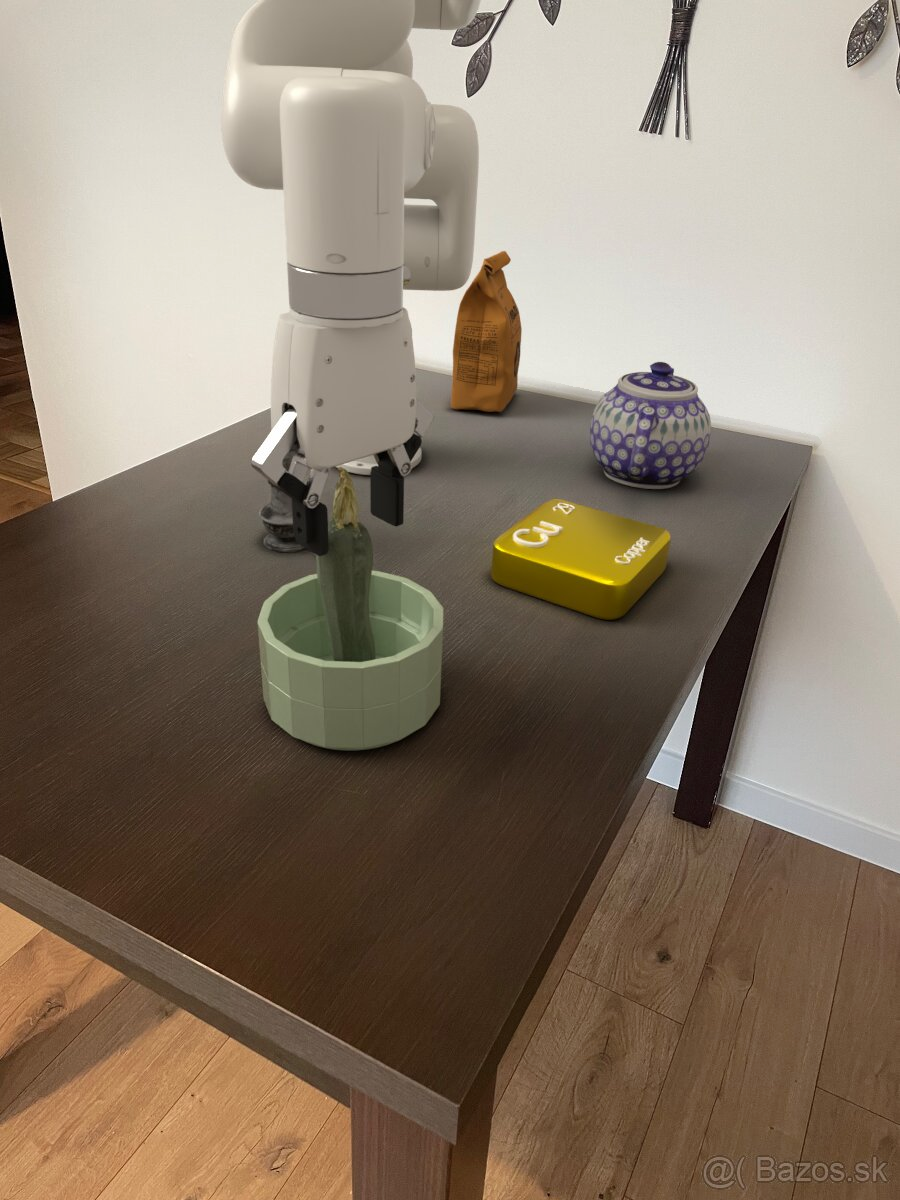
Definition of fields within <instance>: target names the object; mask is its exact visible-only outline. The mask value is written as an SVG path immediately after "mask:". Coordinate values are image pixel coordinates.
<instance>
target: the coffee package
mask: <svg viewBox="0 0 900 1200" xmlns="http://www.w3.org/2000/svg"><path fill="white" fill-rule="evenodd" d="M511 260H512V259H511V257H510V256H509V254H508V253H507V251H506V250H502V251H500V252H498V253H495V254H493V255H491V256H489V257H486V258H483V262H482V265H481V267H480V270H479V271H478V273H477V275H476V276H475V277H474V278H473V280H472V282H471V283H470V285H469V286H468V287H467V289H466V290H465V292H464V294H463V296H462V298H461V300H460V302H459V306H458V310H457V316H456V323H455V328H454V329H455V330H454V337H453V345H452V383H451V384H452V385H451V397H450V408H451V409H453V410H457V411H458V410H471V411H474V410H477V411H481V412H485V413H488V412H489V413H493V412H499V413H500V412H503V411H504V410H505V408H506V407H507V405H508V404H509V403H510V402H511V400H513V397H514V395H515V393H516V391H517V389H518V375H519V367H520V360H521V346H522V344H521V343H522V323H521V316H520V311H519V308H518V305H517V303H516V300H515V298H514V296H513V294H512V293H511V291H510V289H509V288H508V285H507V279H506V275H505V273H504V270H503V268H505V267H506V266H508V265H509V264H510V263H511Z"/></svg>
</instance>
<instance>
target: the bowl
mask: <svg viewBox="0 0 900 1200" xmlns="http://www.w3.org/2000/svg"><path fill="white" fill-rule="evenodd" d="M369 618H370V625H371V630H372V634H373V638H374V643H375V658H376V659H374V660H369V661H364V662H345V661H334V659H333V656H332V653H331V648H330V643H329V636H328V629H327V624H326V618H325V613H324V607H323V602H322V597H321V594H320V590H319V585H318V578H317V573H313V574H308V575H306V576H304V577H301V578H298V579H296V580H294V581H291V582H288V583H286V584H284V585H282V586H281V587H279V588H278V589H277V590H276V591H275V592H274V593H273V594H271V595H270V596H269V597H268V598H266V599H265V600H264V601H263V604H262V607H261V609H260V613H259V616H258V619H257V623H256V624H257V636H258V647H259V659H260V672H261V683H262V696H263V701H264V704H265V707H266V709H267V712H268V715H269V717H270V720H271V721H273V722H274V723H275V724H276V725H278V727H280V728H281V729H283V731H284V732H286V733H288V735H290V736H291V737H293V738H294V739H297V740H301V741H302V742H305V743H307V744H310V745H312V746H316V747H319V748H323V749H328V750H334V751H348V752H349V751H365V750H373V749H377V748H381V747H385V746H388V745H391V744H394V743H396V742H399V741H401V740H403V739H404V738H406V737H408V736H410V735H411V734H413V733H414V732H416V731H418V730H419V729H421V728H423V727H425V726H426V725H427V723H428V722H429V720H430V719H431V718H432V717H433V715H434V714H435V712H436V711H437V709H438V708H439V706H440V705H441V685H442V664H443V663H442V662H443V661H442V660H443V638H444V607H443V606H442V605H441V603H440V602H439V600H438V599H437V598H436V597H435V595H434V594H433V592H432V591H431V590H429V589H427V588H425V587H424V586H422V585H420V584H418V583H417V582H415V581H413V580H411V579H409V578H407V577H404V576H400V575H396V574H391V573H387V572H383V571H380V570H372V573H371V583H370V592H369Z"/></svg>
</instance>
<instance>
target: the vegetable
mask: <svg viewBox="0 0 900 1200" xmlns="http://www.w3.org/2000/svg"><path fill="white" fill-rule="evenodd" d="M337 470H338V471H339V475H338V476H339V479H338V482H337V483H336V485H335V492H334V497H333V501H332V515H333V516H332V518H330V519H328V544H329V550H328V552H327V554H325V555H323V556H318V555H316V554H315V564H316V574H317V578H318V585H319V590H320V594H321V597H322V602H323V607H324V613H325V618H326V624H327V629H328V636H329V643H330V648H331V653H332V656H333V659H334V661H345V662H364V661H369V660H374V659H376V658H375V643H374V638H373V634H372V630H371V625H370V618H369V592H370V583H371V573H372V571H373V565H374V564H373V563H374V549H373V543H372V538H371V535H370V532H369V531H368V529H367V527H366V526H365V525H364V524H363V523H362V522H360V521H359V520H357V518H358V517H359V514H360V507H359V506H360V505H359V502H358V499H357V497H356V492H355V488H354V483H353V480H352V477H351V475H350V474H349V472H347V470H346V469H343V468H342V467H339V468H337Z"/></svg>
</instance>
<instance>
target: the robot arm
mask: <svg viewBox="0 0 900 1200" xmlns="http://www.w3.org/2000/svg"><path fill="white" fill-rule="evenodd" d="M481 1H482V0H257V2H255V3H254V4H252V6H251V7H250V8H249V9H248V10H247V11H246V12H245V13H244V15H243V16H242V17H241V18H240V21H238V24H237V26H236V28H235V29H234V32H233V35H232V39H231V42H230V47H229V52H228V57H227V62H226V63H227V64H226V70H225V74H224V81H223V88H222V95H221V107H220V108H221V110H220V132H221V141H222V145H223V148H224V154H225V156H226V158H227V159H226V160H227V161H228V163H229V165H230V167H231V169H232V170H233V172H234V174H235V175H236V176H237V177H238V178H240V179H241V180H242V181H243V182H244V183H246V184H247V185H249V186H252V187H255V188H259V189H262V190H263V189H264V190H274V191H275V190H276V191H277V190H278V191H283V207H284V210H283V211H284V227H285V228H284V229H285V246H286V247H285V248H286V249H285V251H286V261H287V262H286V268H287V269H286V271H287V289H288V307H289V309H288V310H289V312H285V313H281V314H279V316H278V321H277V324H276V331H275V337H274V343H273V351H272V361H271V378H270V430H271V431H270V433H269V434H268V435H267V436H266V438H265V440H264V441H263V442H262V444H261V445H260V447H259V448H258V449H257V451H255V454H254V455H253V456H252V459H251V461H250V466H251V467H252V468H253V469H254V470H255V471H257V472H258V473H259V474H260V475H261V476H262V477H264V478H265V479H266V480H267V479H268V480H269V481H270V483H271V484H273V485H274V486H275V487H277V488H278V489H279V490H281V491H282V492H283V493H284V494H285V495H286V496H288V497H290V498H291V499H292V515H293V533H294V537H295V539H296V542H297V543H298V544H299V545H301V546H303V547H304V548H305V549H306V550H307V551H310V552H311V553H312V554H314V555H315V556H316V555H318V556H323V555H325V554H327V552H328V550H329V544H328V521H329V517H328V507H327V505H326V504H325V503H323V502H321V499H322V496H323V494H324V490H325V486H326V484H327V481H328V477H329V474H330V472H331V468H337V469H338V468H339V467H342V468H343V469H346V470H347V472H348V473H351V474H356V475H362V476H370V478H369V480H370V483H369V484H370V486H369V487H370V490H369V491H370V492H369V493H370V498H369V499H370V514H371V515H372V516H374V517H376V518H377V519H379V520H381V521H383V522H385V523H387V524H389V525H391V526H393V527H400V526H402V525H403V524H404V517H405V516H404V513H405V511H404V510H405V509H404V507H405V506H404V505H405V477H407V476H408V475H409V474H410V473H411V471H412V470H413V469H414V468H415V467H417V466H418V465H419V463H421V461H422V455H423V454H422V450H423V449H422V447H421V445H422V439H423V438H424V437H425V435H426V433H427V432H428V430H429V429H430V427H431V425H432V423H433V422H434V419H435V414H434V412H433V411H432V410H430V408H428V407H427V406H426V405H425V404H424V403H423V401H421V400H420V399H419V398H418V397H417V373H416V372H417V371H416V358H415V349H414V340H413V328H412V323H411V320H410V317H409V312H408V309H407V308H405V307H404V291H428V292H429V291H430V292H431V291H434V292H438V291H439V292H446V291H448V292H449V291H456V290H458V289H461V288H462V287H464V286H465V285H466V284H467V282H468V281H469V279H470V276H471V272H472V268H473V264H474V263H473V261H474V252H475V236H476V217H477V201H478V186H479V165H480V164H479V163H480V161H479V160H480V147H479V138H478V136H479V135H478V131H477V127H476V123H475V120H474V119H473V117H472V116H471V114H470V113H468V111H466V110H465V109H463V108H462V107H459V106H454V105H451V104H450V105H449V104H437V103H436V104H433V103H431V102H430V101H428V99H427V96H426V94H425V92H424V90H423V88H422V87H421V85H420V84H419V83H418V82H417V81H416V80H414V79H413V67H414V58H413V52H412V49H411V46H410V43H409V41H408V38H409V36H410V34H411V32H412V30H413V29H418V30H419V29H420V30H439V31H454V30H455V31H457V30H461V29H464V28H466V27H467V26H469V25H470V24H471V23H472V22H473V21H474V19H475V17H476V16H477V13H478V10H479V8H480V4H481ZM405 199H409V200H410V199H411V200H412V199H413V200H429V201H430V200H431V201H433V203H435V205H432V204H431V205H428V204H405ZM293 453H294V456H293V459H292V462H291V465H290V468H289V471H287V470H286V469H285V468H284V467H283V459H284V458H285V456H286V455H287V454H293ZM309 469H311V470H310V473H309V475H308V479H307V482H306V484H305V483H304V482H305V479H306V477H307V473H308V470H309Z"/></svg>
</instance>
